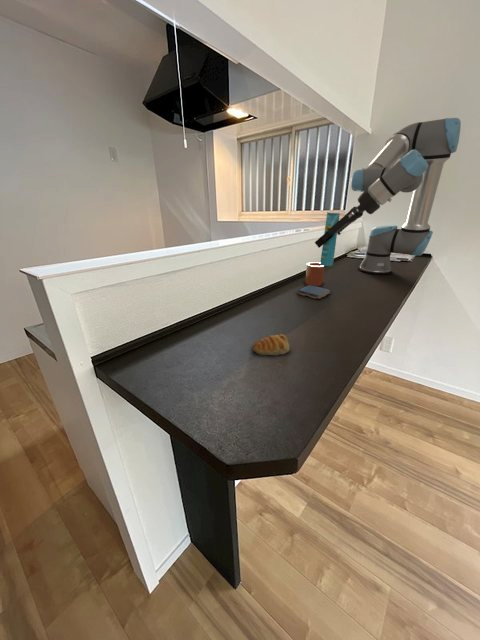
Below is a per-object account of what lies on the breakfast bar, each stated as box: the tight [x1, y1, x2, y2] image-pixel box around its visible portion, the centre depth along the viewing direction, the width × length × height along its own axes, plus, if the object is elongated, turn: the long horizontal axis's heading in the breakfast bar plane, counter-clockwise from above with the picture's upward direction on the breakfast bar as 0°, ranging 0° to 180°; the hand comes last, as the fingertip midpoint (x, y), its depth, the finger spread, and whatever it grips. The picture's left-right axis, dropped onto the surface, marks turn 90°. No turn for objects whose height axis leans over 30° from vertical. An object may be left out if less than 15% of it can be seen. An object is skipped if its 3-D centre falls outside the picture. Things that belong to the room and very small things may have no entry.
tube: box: [319, 211, 340, 267], centre depth 100 cm, size 7×5×19 cm, turn 23°
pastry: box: [252, 333, 290, 356], centre depth 70 cm, size 9×7×4 cm
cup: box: [304, 262, 326, 287], centre depth 121 cm, size 8×8×9 cm
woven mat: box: [297, 285, 331, 300], centre depth 110 cm, size 10×11×2 cm
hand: (319, 243), depth 103 cm, fingers closed on tube, 5 cm apart
